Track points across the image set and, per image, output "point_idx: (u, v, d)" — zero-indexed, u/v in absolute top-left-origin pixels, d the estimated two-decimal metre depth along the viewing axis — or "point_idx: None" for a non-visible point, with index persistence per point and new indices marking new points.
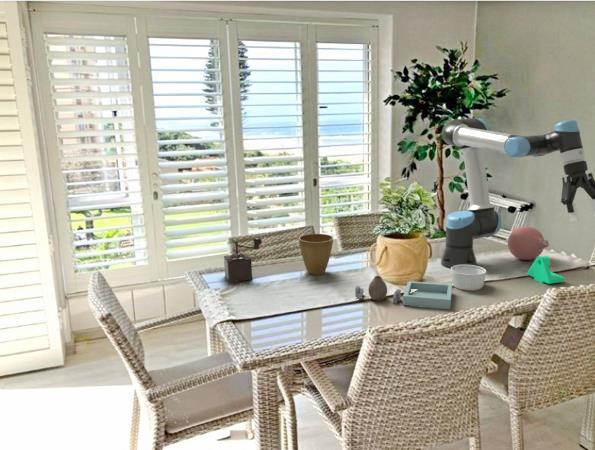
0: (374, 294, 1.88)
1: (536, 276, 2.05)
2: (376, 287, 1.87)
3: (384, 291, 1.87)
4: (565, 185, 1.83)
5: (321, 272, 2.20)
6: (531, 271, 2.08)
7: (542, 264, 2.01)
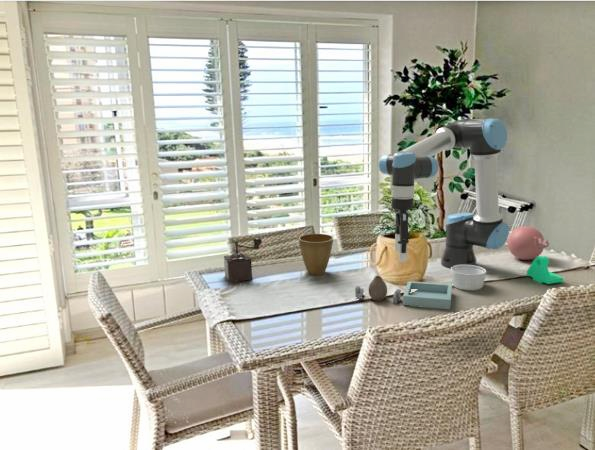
0: (374, 294, 1.88)
1: (535, 276, 2.05)
2: (376, 287, 1.87)
3: (384, 291, 1.87)
4: None
5: (321, 272, 2.20)
6: (529, 271, 2.07)
7: (541, 264, 2.01)
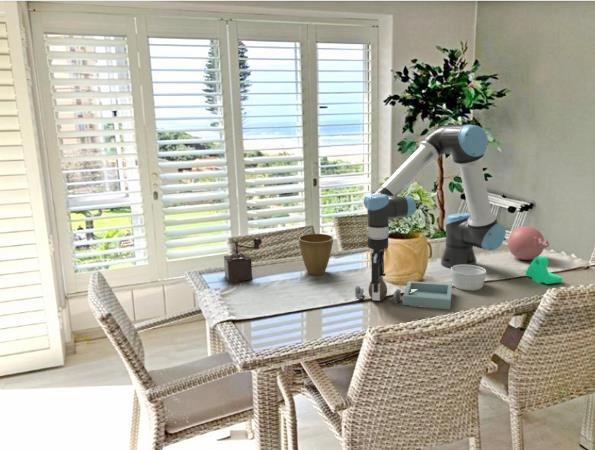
0: None
1: (534, 276, 2.05)
2: None
3: (384, 291, 1.87)
4: None
5: (321, 272, 2.20)
6: (529, 272, 2.07)
7: (540, 264, 2.00)
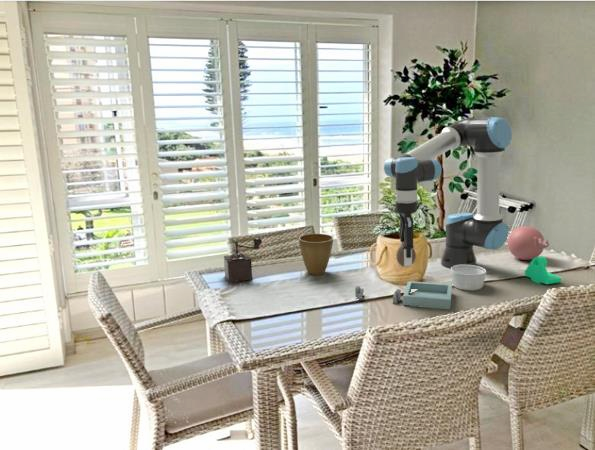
0: None
1: (533, 277, 2.04)
2: None
3: (414, 256, 1.84)
4: None
5: (321, 272, 2.20)
6: (527, 272, 2.07)
7: (539, 265, 2.00)
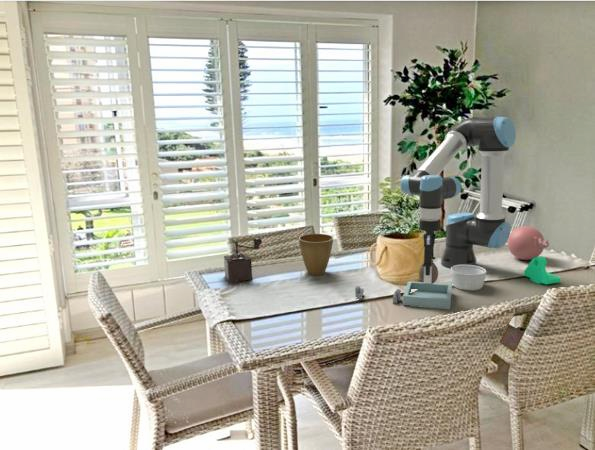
0: None
1: (532, 277, 2.04)
2: None
3: (435, 274, 1.84)
4: None
5: (321, 272, 2.20)
6: (527, 272, 2.07)
7: (539, 265, 2.00)
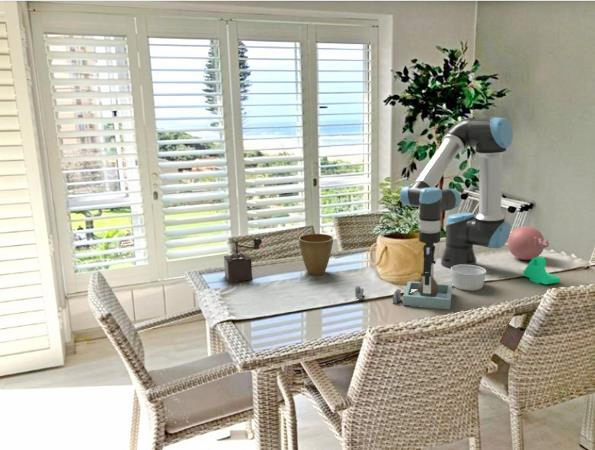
0: None
1: (532, 277, 2.04)
2: None
3: (435, 290, 1.85)
4: None
5: (321, 272, 2.20)
6: (526, 272, 2.07)
7: (538, 265, 2.00)
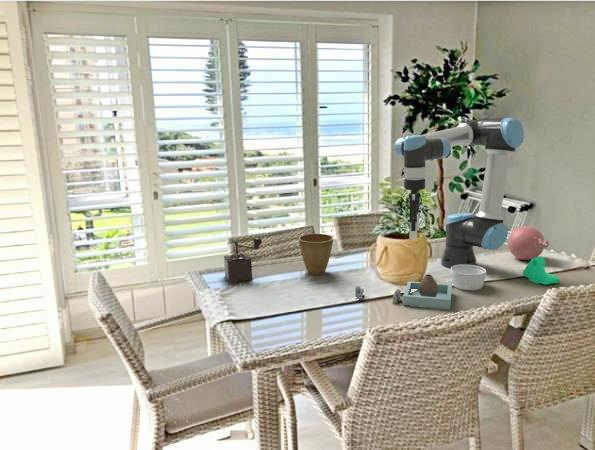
0: (425, 292, 1.86)
1: (531, 277, 2.04)
2: (427, 285, 1.85)
3: (435, 290, 1.85)
4: None
5: (321, 272, 2.20)
6: (526, 272, 2.07)
7: (538, 265, 2.00)
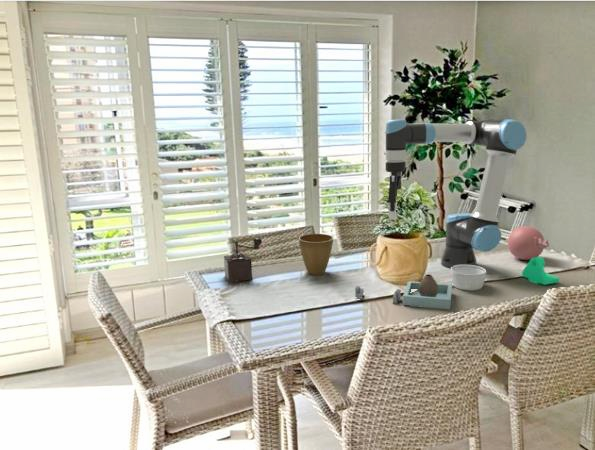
0: (425, 292, 1.86)
1: (530, 277, 2.04)
2: (427, 285, 1.85)
3: (435, 290, 1.85)
4: None
5: (321, 272, 2.20)
6: (525, 272, 2.06)
7: (537, 265, 2.00)
